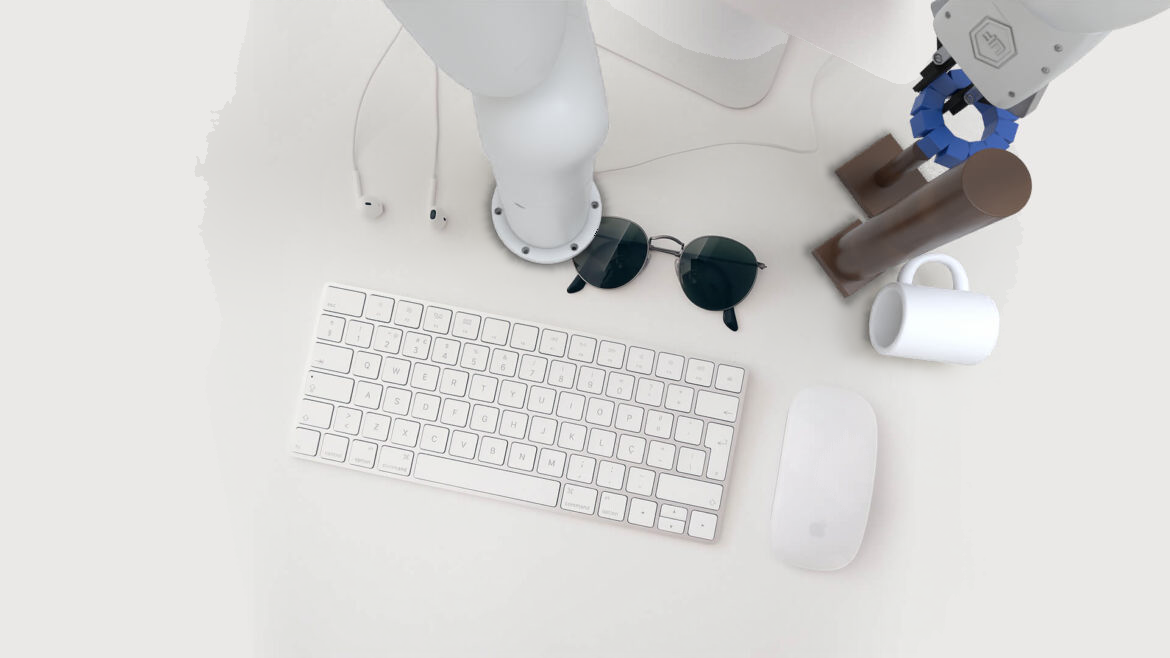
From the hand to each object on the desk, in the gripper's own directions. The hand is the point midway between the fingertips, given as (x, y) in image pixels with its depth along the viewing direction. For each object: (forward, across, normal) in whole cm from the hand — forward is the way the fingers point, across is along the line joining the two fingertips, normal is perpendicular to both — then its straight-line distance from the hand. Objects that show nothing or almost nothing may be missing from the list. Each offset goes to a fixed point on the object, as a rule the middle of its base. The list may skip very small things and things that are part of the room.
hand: (936, 95), depth 61 cm
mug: (+15, +18, -7) cm, 24 cm away
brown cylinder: (+15, +9, -9) cm, 19 cm away
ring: (0, +3, 0) cm, 3 cm away
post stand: (+15, +4, 0) cm, 15 cm away
